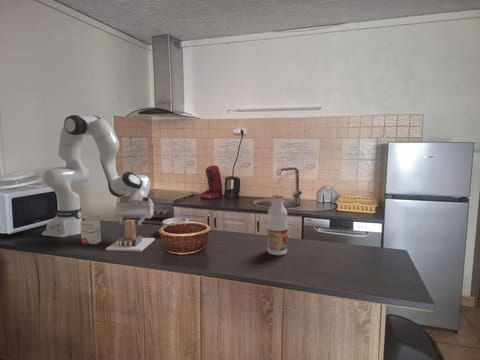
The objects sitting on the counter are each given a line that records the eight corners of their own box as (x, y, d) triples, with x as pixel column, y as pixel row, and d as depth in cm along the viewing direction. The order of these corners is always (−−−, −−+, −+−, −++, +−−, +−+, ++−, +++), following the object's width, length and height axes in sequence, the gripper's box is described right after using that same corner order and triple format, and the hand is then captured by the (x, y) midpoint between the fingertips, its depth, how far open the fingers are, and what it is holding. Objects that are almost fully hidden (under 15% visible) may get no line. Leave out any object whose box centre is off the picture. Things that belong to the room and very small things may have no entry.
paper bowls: (159, 232, 184) (159, 218, 183) (184, 228, 191) (184, 215, 190) (166, 239, 171) (166, 224, 170) (192, 235, 178) (192, 221, 177)
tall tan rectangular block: (125, 244, 159) (124, 221, 158) (129, 241, 163) (127, 219, 162) (133, 244, 159) (131, 221, 157) (136, 241, 163) (135, 219, 161)
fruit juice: (266, 249, 154) (266, 193, 151) (285, 248, 155) (285, 193, 151) (268, 256, 145) (269, 196, 142) (288, 255, 145) (289, 196, 142)
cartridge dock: (105, 250, 153) (105, 242, 152) (122, 239, 171) (122, 231, 170) (141, 251, 151) (140, 243, 151) (154, 239, 169) (154, 232, 169)
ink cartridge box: (81, 243, 163) (79, 216, 161) (86, 240, 168) (84, 214, 166) (96, 244, 162) (94, 216, 160) (101, 241, 167) (100, 214, 165)
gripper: (116, 198, 166) (107, 220, 158) (153, 198, 164) (146, 221, 156) (120, 204, 171) (112, 226, 162) (156, 205, 169) (150, 227, 161)
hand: (129, 224), depth 159 cm, fingers open, 8 cm apart
